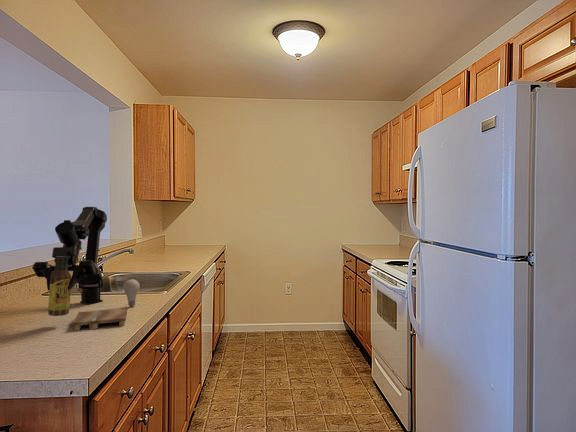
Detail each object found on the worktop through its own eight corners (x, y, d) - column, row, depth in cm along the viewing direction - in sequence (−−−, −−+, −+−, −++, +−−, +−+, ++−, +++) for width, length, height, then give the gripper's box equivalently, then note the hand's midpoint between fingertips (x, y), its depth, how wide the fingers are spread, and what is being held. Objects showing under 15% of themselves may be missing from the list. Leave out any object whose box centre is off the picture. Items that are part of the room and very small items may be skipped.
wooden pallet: (72, 330, 128) (72, 322, 128) (78, 319, 141) (78, 312, 141) (125, 325, 134) (125, 318, 134) (127, 314, 147) (127, 307, 147)
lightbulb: (126, 309, 154) (126, 281, 154) (121, 306, 159) (121, 279, 159) (142, 306, 158) (141, 279, 158) (136, 303, 163) (136, 277, 163)
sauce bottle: (55, 318, 129) (57, 257, 128) (44, 315, 132) (45, 255, 131) (73, 314, 134) (75, 255, 134) (62, 311, 137) (64, 254, 137)
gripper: (34, 238, 135) (19, 276, 124) (92, 237, 138) (83, 274, 127) (44, 258, 143) (31, 295, 132) (99, 256, 146) (91, 293, 135)
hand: (58, 289), depth 132 cm, fingers closed on sauce bottle, 6 cm apart
